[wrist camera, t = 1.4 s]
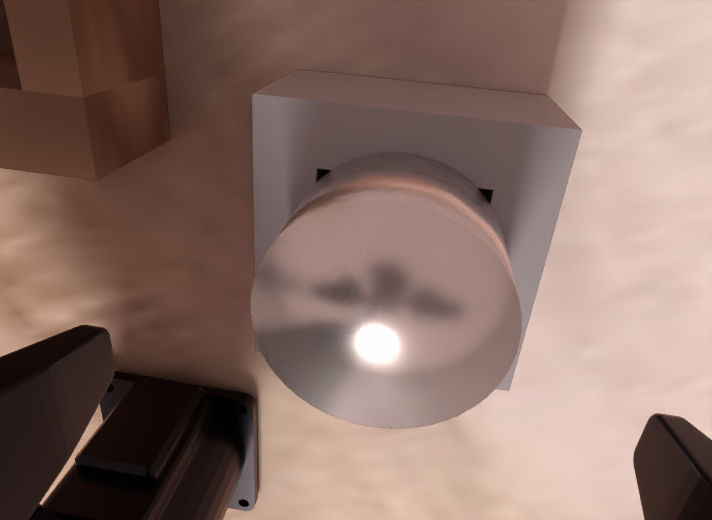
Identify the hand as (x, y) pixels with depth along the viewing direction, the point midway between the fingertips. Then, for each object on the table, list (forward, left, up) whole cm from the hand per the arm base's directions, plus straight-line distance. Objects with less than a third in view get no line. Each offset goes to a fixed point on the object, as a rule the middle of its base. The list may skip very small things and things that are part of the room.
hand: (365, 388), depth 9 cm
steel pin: (0, 0, -9) cm, 9 cm away
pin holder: (0, 0, -9) cm, 9 cm away
